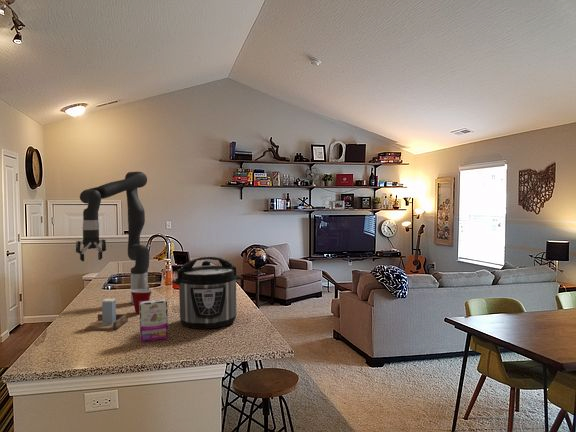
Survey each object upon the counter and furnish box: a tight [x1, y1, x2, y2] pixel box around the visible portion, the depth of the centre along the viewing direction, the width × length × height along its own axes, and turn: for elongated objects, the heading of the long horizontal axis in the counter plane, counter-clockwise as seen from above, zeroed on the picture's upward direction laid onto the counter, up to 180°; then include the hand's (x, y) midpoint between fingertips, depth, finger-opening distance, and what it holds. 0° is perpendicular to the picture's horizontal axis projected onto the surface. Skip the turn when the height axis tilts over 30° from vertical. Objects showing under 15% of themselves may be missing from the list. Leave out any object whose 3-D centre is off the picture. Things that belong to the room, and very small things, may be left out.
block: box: [101, 298, 117, 324], centre depth 202 cm, size 5×5×11 cm
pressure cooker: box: [171, 256, 243, 330], centre depth 207 cm, size 30×28×32 cm
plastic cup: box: [130, 289, 153, 315], centre depth 226 cm, size 11×11×12 cm
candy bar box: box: [138, 298, 169, 343], centre depth 182 cm, size 11×5×16 cm, turn 114°
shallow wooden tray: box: [84, 313, 129, 332], centre depth 202 cm, size 15×14×4 cm
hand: (91, 260), depth 221 cm, fingers open, 8 cm apart
